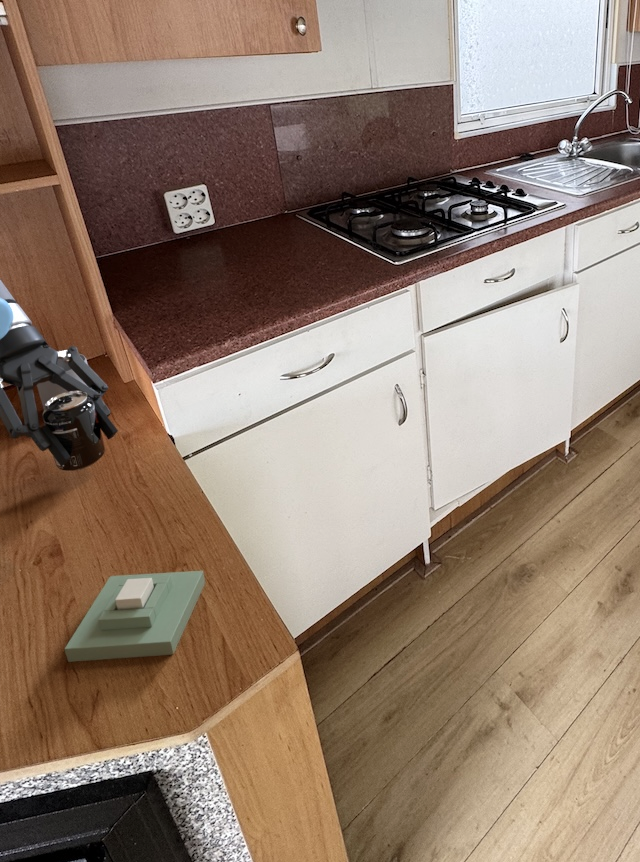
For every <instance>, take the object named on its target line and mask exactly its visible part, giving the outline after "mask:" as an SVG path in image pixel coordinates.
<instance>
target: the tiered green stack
mask: <svg viewBox="0 0 640 862" xmlns="http://www.w3.org/2000/svg"><path fill="white" fill-rule="evenodd" d="M140 578H152V581H153V585H154V589H153V591H152V593H151V594H150V596H149V598H148V600H147V602H146V604H145V606H144V607H143V609H130V610H118V609H117V606H116V602H115V599H116V598H117V596H118V594H119V593H120V591H121V589H122V588H123V586H124V584H125V582H126V581H127V579H140ZM205 578H206V577H205V574H204V570H194V571H193V570H191V571H174V572H158V573H139V574H122V575H110V576H109V577H108V579H107V581H106V582H105V584H104V585H103V587H102V588H101V590H100V592H99V594H98V595H97V596H96V598H95V599H94V601H93V603H92V604H91V606H90V608H89V609H88V611H87V612H86V614H85V615H84V617H83V618H82V620H81V621H80V623H79V624H78V626H77V628H76V630H75V631H74V633H73V634H72V636H71V637H70V639H69V641H68V642H67V644H66V645H65V646H64V649H63V650H64V652H65V655H66V659H67V661H68V662H69V663H72V662H87V661H102V660H113V659H128V658H143V657H144V658H145V657H156V656H158V657H159V656H169V655H170V656H171V655H174V654H175V652H176V649H177V647H178V645H179V643H180V640H181V638H182V636H183V634H184V632H185V629H186V627H187V624H188V622H189V620H190V618H191V616H192V613H193V612H194V609H195V607H196V605H197V603H198V600H199V598H200V596H201V594H202V592H203V589H204V587H205V585H206V579H205Z"/></svg>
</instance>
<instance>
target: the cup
mask: <svg viewBox="0 0 640 862" xmlns="http://www.w3.org/2000/svg"><path fill="white" fill-rule="evenodd" d="M79 355H80V357H81V358H82V359H83V360H84V361H85V362H86V364H87V365H88V366H89V363H88V361H87V357H86V356H85V355H84V354H81V353H79ZM57 365H58V366H59V367H61V368H63V369H64V370H65V372H66V373H68V374H69V375H71V376H72V377H74V378H75V379H77V380H79V381H80V382H82V383H83V384H85V383H84V382H83V381H82V380H81V379H80V377H79V376H78V375H77V374H76V373H75V372H74V371H73V370H72V369H71V368H70V367H69V365H68V363H64V362H63V361H62V360H61V359H58V361H57ZM85 385H86V384H85ZM86 386H87V385H86ZM36 387H37V391H38V394H39V398H40V401H41V405H42V408H43V411H44V410H45V409H46V408H45V404H46V402H47V401H48V400H49V399H51V398H53V397H54V396H56V395H59V394H61V393H65V392H68V391H67V390H65V389H64V388H62V387H60V386H59V385H57V384H53V383H51V382H50V381H46V382H43V383H39V384H37V385H36Z"/></svg>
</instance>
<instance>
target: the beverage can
mask: <svg viewBox="0 0 640 862" xmlns="http://www.w3.org/2000/svg"><path fill="white" fill-rule="evenodd" d="M45 408H46V409H45V410H44V409H43V412H42V420H43V424H44V425H47V426H48V427H49V428H50V430H51V431H52V432H53V434H54V435H55V436H56V438H57V439H58V440H59V442H60V443H61V444H62V446H63V447H64V449H65V450H66V451H67V453H68V454H69V455H70V457H71V458H70V459H69V460H68V462H67V463H66V464H64V465H63V466H60V464H59V463H58V461H57V460H56V459H55V457H54V456H53V455H52V457H53V460H54V463H55V466H56V468H57V469H59V470H60V471H65V472H77V471H81V470H84V469H87V468H89V467H91V466H93V465H94V464H95V463H96V462H98V461H100V459H101V458H102V457H103V456H104V454H105V452H106V448H105V447H106V446H105V442H104V439H103V434H102V433H103V432H102V430H101V429H100V425H99V421H98V417H97V412H96V408H95V404H94V401H93V399H92V398H90V397H87V393H86V392H84V391H69V392H65V393H61V394H59V395H56V396H54V397H53V398H51V399H49V400H48V401H47V402H46V404H45Z"/></svg>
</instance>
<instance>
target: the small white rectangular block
mask: <svg viewBox="0 0 640 862" xmlns="http://www.w3.org/2000/svg"><path fill="white" fill-rule="evenodd" d="M153 589H154V585H153V581H152V578H140V579H127V581H126V582H125V584H124V586H123V588H122V589H121V591H120V593H119V594H118V596H117V598H116V599H115V602H116V606H117V609H118V610H130V609H143V607H144V606H145V604H146V602H147V600H148V598H149V596H150V594H151V593H152V591H153Z"/></svg>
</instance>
